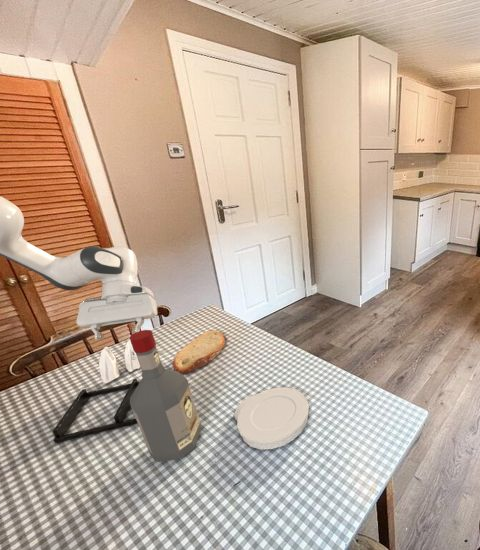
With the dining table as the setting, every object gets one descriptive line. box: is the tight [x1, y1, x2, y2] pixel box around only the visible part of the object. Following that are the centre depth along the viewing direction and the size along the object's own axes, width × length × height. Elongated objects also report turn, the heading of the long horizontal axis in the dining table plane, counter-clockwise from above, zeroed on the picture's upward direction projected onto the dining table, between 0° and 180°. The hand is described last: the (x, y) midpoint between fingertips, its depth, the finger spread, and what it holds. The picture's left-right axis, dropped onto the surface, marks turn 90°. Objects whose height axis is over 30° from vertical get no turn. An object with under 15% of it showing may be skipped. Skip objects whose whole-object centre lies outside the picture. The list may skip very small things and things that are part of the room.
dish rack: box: [51, 378, 140, 444], centre depth 80 cm, size 19×16×3 cm
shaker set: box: [98, 338, 141, 385], centre depth 91 cm, size 12×4×11 cm, turn 159°
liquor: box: [129, 329, 203, 463], centre depth 65 cm, size 9×9×30 cm
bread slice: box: [172, 330, 226, 375], centre depth 102 cm, size 18×18×4 cm
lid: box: [233, 386, 310, 450], centre depth 77 cm, size 17×20×3 cm
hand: (117, 336), depth 93 cm, fingers open, 8 cm apart
